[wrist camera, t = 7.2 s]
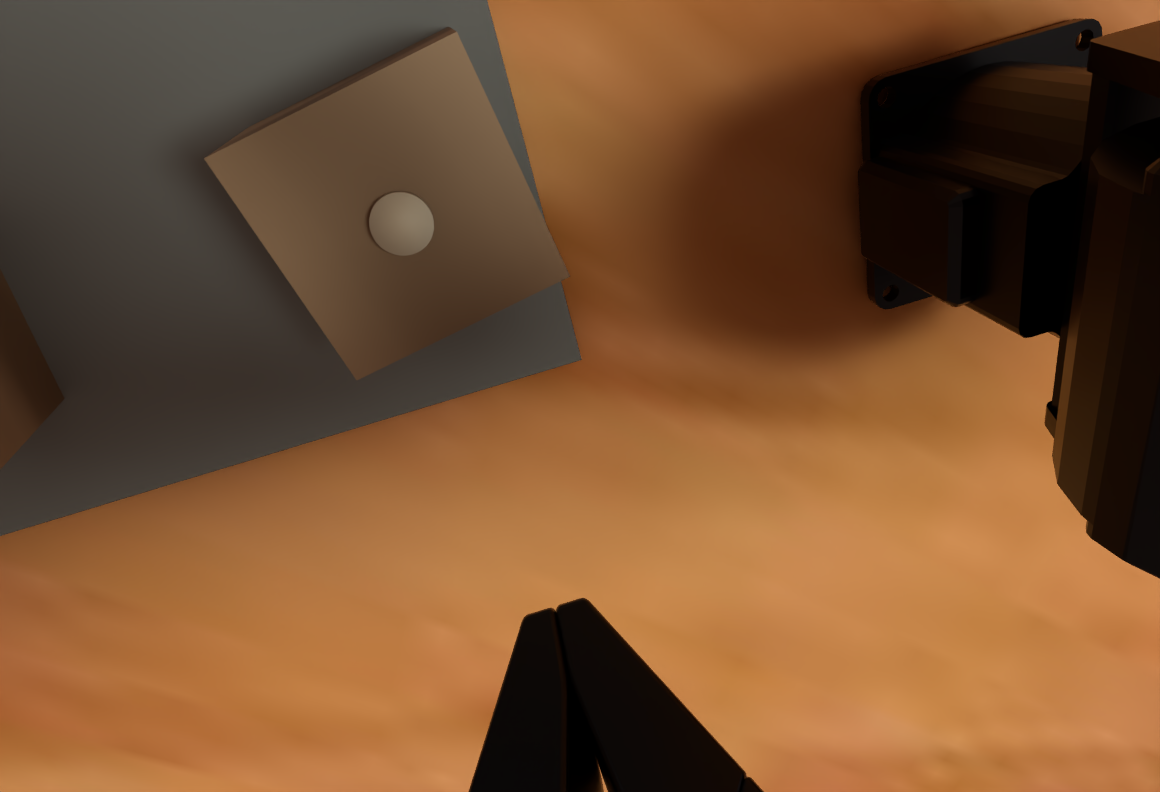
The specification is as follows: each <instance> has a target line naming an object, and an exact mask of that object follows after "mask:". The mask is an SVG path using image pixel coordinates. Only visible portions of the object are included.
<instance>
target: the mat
mask: <svg viewBox="0 0 1160 792" xmlns="http://www.w3.org/2000/svg"><path fill="white" fill-rule="evenodd" d="M447 27H450V28H452V29H453V30H455V31H457V33H458V35H459V37H460V40H461V42H462V44H463V46H464V48H465V50H466V53H467V55H468V57H469V59H470V61H471V63H472V66H473V68H474V70H475V72H476V74H477V76H478V78H479V81H480V83H481V85H482V87H483V89H484V91H485V94H486V96H487V98H488V100H489V102H490V104H491V106H492V109H493V111H494V113H495V115H496V117H497V119H498V122H499V124H500V126H501V128H502V130H503V132H504V135H505V137H506V139H507V141H508V143H509V145H510V147H511V150H512V152H513V154H514V156H515V158H516V160H517V163H518V165H519V167H520V169H521V171H522V173H523V175H524V178H525V180H526V182H527V184H528V186H529V188H530V191H531V193H532V195H533V197H534V199H535V201H536V204H537V206H538V208H539V210H540V212H541V214H542V216H543V219H544V215H543V211H542V207H541V204H540V200H539V196H538V192H537V188H536V185H535V181H534V177H533V173H532V169H531V166H530V162H529V158H528V154H527V150H526V147H525V143H524V139H523V135H522V131H521V128H520V124H519V120H518V116H517V112H516V109H515V105H514V101H513V97H512V93H511V90H510V86H509V82H508V78H507V74H506V71H505V67H504V63H503V59H502V55H501V52H500V48H499V44H498V40H497V36H496V33H495V29H494V25H493V21H492V17H491V14H490V10H489V6H488V2H487V0H0V269H1V271H2V273H3V275H4V277H5V279H6V281H7V283H8V285H9V287H10V289H11V291H12V293H13V295H14V297H15V299H16V301H17V303H18V305H19V308H20V310H21V312H22V314H23V316H24V318H25V320H26V322H27V324H28V326H29V328H30V330H31V332H32V334H33V336H34V338H35V340H36V342H37V344H38V346H39V348H40V350H41V352H42V354H43V356H44V358H45V360H46V362H47V364H48V366H49V368H50V370H51V372H52V374H53V376H54V378H55V380H56V382H57V384H58V386H59V388H60V390H61V392H62V394H63V396H64V398H65V399H64V400H63V401H62V402H61V403H60V404H59V405H58V407H57V408H56V409H55V410H54V411H53V412H52V413H51V414H50V415H49V417H48V418H47V419H46V420H45V421H44V422H43V423H42V424H41V425H40V426H39V428H38V429H37V430H36V431H35V432H34V433H33V434H32V435H31V436H30V437H29V439H28V440H27V441H26V442H25V443H24V444H23V445H22V446H21V447H20V448H19V450H18V451H17V452H16V453H15V454H14V455H13V456H12V457H11V458H10V459H9V461H8V462H7V463H6V464H5V465H4V466H3V467H2V468H1V469H0V536H1V535H5V534H8V533H11V532H15V531H18V530H21V529H25V528H28V527H31V526H34V525H38V524H41V523H44V522H48V521H51V520H54V519H58V518H61V517H64V516H67V515H71V514H74V513H77V512H81V511H84V510H87V509H91V508H94V507H97V506H101V505H104V504H107V503H110V502H114V501H117V500H120V499H124V498H127V497H130V496H134V495H137V494H140V493H143V492H147V491H150V490H153V489H157V488H160V487H163V486H167V485H170V484H173V483H176V482H180V481H183V480H186V479H190V478H193V477H196V476H200V475H203V474H206V473H209V472H213V471H216V470H219V469H223V468H226V467H229V466H233V465H236V464H239V463H242V462H246V461H249V460H252V459H256V458H259V457H262V456H266V455H269V454H272V453H275V452H279V451H282V450H285V449H289V448H292V447H295V446H299V445H302V444H305V443H308V442H312V441H315V440H318V439H322V438H325V437H328V436H332V435H335V434H338V433H341V432H345V431H348V430H351V429H355V428H358V427H361V426H365V425H368V424H371V423H374V422H378V421H381V420H384V419H388V418H391V417H394V416H398V415H401V414H404V413H408V412H411V411H414V410H417V409H421V408H424V407H427V406H431V405H434V404H437V403H441V402H444V401H447V400H450V399H454V398H457V397H460V396H464V395H467V394H470V393H474V392H477V391H480V390H483V389H487V388H490V387H493V386H497V385H500V384H503V383H507V382H510V381H513V380H516V379H520V378H523V377H526V376H530V375H533V374H536V373H540V372H543V371H546V370H549V369H553V368H556V367H559V366H563V365H566V364H569V363H573V362H576V361H579V360H582V359H581V356H580V352H579V348H578V344H577V340H576V337H575V333H574V329H573V325H572V321H571V318H570V314H569V310H568V306H567V302H566V299H565V295H564V291H563V287H562V283H561V281H560V282H558V283H556V284H554V285H552V286H550V287H548V288H546V289H544V290H542V291H540V292H538V293H535V294H533V295H531V296H529V297H527V298H525V299H523V300H521V301H519V302H517V303H515V304H513V305H511V306H509V307H507V308H505V309H503V310H501V311H499V312H496V313H494V314H492V315H490V316H488V317H486V318H484V319H482V320H480V321H478V322H476V323H474V324H472V325H470V326H468V327H466V328H464V329H462V330H460V331H457V332H455V333H453V334H451V335H449V336H447V337H445V338H443V339H441V340H439V341H437V342H435V343H433V344H431V345H429V346H427V347H425V348H423V349H420V350H418V351H416V352H414V353H412V354H410V355H408V356H406V357H404V358H402V359H400V360H398V361H396V362H394V363H392V364H390V365H388V366H386V367H384V368H381V369H379V370H377V371H375V372H373V373H371V374H369V375H367V376H365V377H363V378H361V379H359V380H356V379H355V377H354V376H353V374H352V373H351V371H350V370H349V369H348V367H347V366H346V364H345V363H344V361H343V360H342V358H341V357H340V355H339V354H338V353H337V351H336V350H335V348H334V347H333V345H332V344H331V342H330V341H329V339H328V338H327V337H326V335H325V334H324V332H323V331H322V329H321V328H320V326H319V325H318V324H317V322H316V321H315V319H314V318H313V316H312V315H311V313H310V312H309V310H308V309H307V308H306V306H305V305H304V303H303V302H302V300H301V299H300V297H299V296H298V294H297V293H296V292H295V290H294V289H293V287H292V286H291V284H290V283H289V281H288V280H287V279H286V277H285V276H284V274H283V273H282V271H281V270H280V268H279V267H278V265H277V264H276V263H275V261H274V260H273V258H272V257H271V255H270V254H269V252H268V251H267V249H266V248H265V247H264V245H263V244H262V242H261V241H260V239H259V238H258V236H257V235H256V233H255V232H254V231H253V229H252V228H251V226H250V225H249V223H248V222H247V220H246V219H245V218H244V216H243V215H242V213H241V212H240V210H239V209H238V207H237V206H236V204H235V203H234V202H233V200H232V199H231V197H230V196H229V194H228V193H227V191H226V190H225V188H224V187H223V186H222V184H221V183H220V181H219V180H218V178H217V177H216V175H215V174H214V172H213V171H212V170H211V168H210V167H209V165H208V164H207V162H206V161H205V159H204V158H205V157H207V156H208V155H209V154H211V153H212V152H214V151H215V150H217V149H218V148H219V147H221V146H222V145H224V144H225V143H227V142H228V141H230V140H231V139H232V138H234V137H235V136H237V135H238V134H240V133H241V132H242V131H244V130H245V129H247V128H248V127H250V126H252V125H254V124H256V123H258V122H260V121H262V120H264V119H266V118H268V117H270V116H272V115H274V114H276V113H278V112H280V111H282V110H284V109H286V108H288V107H290V106H292V105H293V104H295V103H297V102H299V101H301V100H303V99H305V98H307V97H309V96H311V95H313V94H315V93H317V92H319V91H321V90H323V89H325V88H327V87H329V86H331V85H333V84H335V83H337V82H339V81H341V80H343V79H345V78H347V77H349V76H351V75H353V74H355V73H357V72H359V71H361V70H363V69H365V68H367V67H369V66H371V65H373V64H375V63H377V62H379V61H381V60H383V59H385V58H387V57H389V56H391V55H393V54H395V53H397V52H399V51H401V50H403V49H405V48H407V47H409V46H411V45H413V44H415V43H417V42H419V41H421V40H423V39H425V38H427V37H429V36H431V35H433V34H435V33H437V32H439V31H441V30H443V29H445V28H447ZM544 221H545V219H544Z"/></svg>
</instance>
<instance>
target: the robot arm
mask: <svg viewBox="0 0 1160 792" xmlns="http://www.w3.org/2000/svg"><path fill="white" fill-rule="evenodd" d="M1080 33H1081V36H1082V38H1081V41H1080V43H1079V45H1078V46H1077V47H1076V44H1075V42H1076V39H1077V37H1078V35H1079V34H1080ZM884 88H886V89H887V93H888V94H887V99H886V100H885V102H884V103H883V104H881V105H880V106H879V104H878V101H877V99H878V95H879V93H880V92H881V90H882V89H884ZM860 104H861V130H862V156H863V163H862V165H861V167H860V169H859V171H858V185H859V209H860V233H861V253H862V255H863V256H864V257H865V258H866V261H867V287H868V296H869V299H870V300H871V301H872V303H874V304H875V305H877V306H878V307H880V308H883V309H892V308H895V307H898V306H901V305H905V304H908V303H911V302H914V301H918V300H921V299H924V298H928V297H931V296H934V297H936V298H938V299H939V300H941V301H943V302H945V303H946V304H948V305H950V306H952V307H958V306H961V305H965V306H967V307H969V308H971V309H973V310H974V311H976V312H978V313H980V314H982V315H984V316H985V317H987V318H989V319H991V320H993V321H995V322H996V323H998V324H1000V325H1002V326H1004V327H1006V328H1007V329H1009V330H1011V331H1013V332H1015V333H1017V334H1018V335H1020V336H1022V337H1024V338H1027V337H1033V336H1036V335H1040V334H1043V333H1046V332H1048V333H1050V334H1052V335H1054V336H1056V337H1058V338H1060V341H1059V349H1058V357H1057V365H1056V373H1055V381H1054V389H1053V397H1052V401H1050V402H1048V404H1047V406H1046V415H1045V426H1046V427H1047V429H1048V430H1049V432H1050V433H1051V435H1052V436H1053V438H1054V445H1053V453H1052V457H1053V463H1054V468H1055V474H1056V479H1057V484H1058V485H1059V487H1060V488H1061V489H1062V491H1063V492H1064V493H1065V495H1066V496H1067V497H1068V498H1069V500H1070V501H1071V502H1072V504H1073V505H1074V506H1075V508H1076V509H1077V510H1078V512H1079V513H1080V514H1081V515H1082V516H1083V517H1084V518H1085V519H1086V520H1087V523H1086V533H1087V534H1088V535H1089V536H1090V538H1091V539H1093V540H1094V541H1096V542H1097V543H1099V544H1100V545H1101V546H1103V547H1104V548H1106V549H1107V550H1109V551H1110V552H1112V553H1113V554H1115V555H1116V556H1117V557H1119V558H1120V559H1122V560H1124V561H1125V562H1127V563H1129V564H1131V565H1133V566H1135V567H1137V568H1139V569H1141V570H1143V571H1145V572H1147V573H1149V574H1151V575H1153V576H1155V577H1158V578H1160V21H1156V22H1152V23H1149V24H1145V25H1141V26H1138V27H1134V28H1130V29H1127V30H1123V31H1119V32H1116V33H1112V34H1108V35H1105V36H1102V27H1101V25H1100V23H1099V22H1098V21H1096V20H1095V19H1073V20H1069V21H1066V22H1062V23H1059V24H1055V25H1052V26H1049V27H1045V28H1042V29H1038V30H1035V31H1031V32H1028V33H1024V34H1021V35H1017V36H1014V37H1010V38H1007V39H1003V40H1000V41H996V42H993V43H989V44H986V45H982V46H979V47H975V48H972V49H969V50H965V51H962V52H958V53H955V54H951V55H948V56H944V57H941V58H937V59H934V60H930V61H927V62H923V63H920V64H916V65H913V66H909V67H906V68H902V69H899V70H895V71H892V72H888V73H885V74H882V75H878V76H876V77H874V78H872V79H871V80H870V81H869V82H868V83H867V84H866V85H865V87H864V89H863V91H862V93H861V100H860ZM890 285H891V286H892V287H891V291H890V292H889V293H888V294H887V295H886V296H884V297H883V292H884V290H885V289H886V288H887V287H888V286H890ZM599 767H600V769H599ZM600 770H601V773H602V776H603V779H604V782H605V785H606V787H607V790H608V792H764V791H763V790H762V789H761V788H760V787H759V786H758V785H757V784H756V783H755V782H754V780H753V779H752V778H750V777H747V776H746V773H745V771H744V770H743V769H742V768H741V767H740V766H739V765H738V763H737V762H736V761H735V760H734V759H733V758H732V757H731V756H730V755H729V754H728V752H727V751H726V750H725V749H724V748H723V747H722V746H721V745H720V744H719V743H718V742H717V740H716V739H715V738H714V737H713V736H712V735H711V734H710V733H709V732H708V731H707V729H706V728H705V727H704V726H703V725H702V724H701V723H700V722H699V721H698V720H697V719H696V717H695V716H694V715H693V714H692V713H691V712H690V711H689V710H688V709H687V708H686V706H685V705H684V704H683V703H682V702H681V701H680V700H679V699H678V698H677V697H676V696H675V694H674V693H673V692H672V691H671V690H670V689H669V688H668V687H667V686H666V685H665V683H664V682H663V681H662V680H661V679H660V678H659V677H658V676H657V675H656V674H655V673H654V671H653V670H652V669H651V668H650V667H649V666H648V665H647V664H646V663H645V662H644V660H643V659H642V658H641V657H640V656H639V655H638V654H637V653H636V652H635V651H634V650H633V648H632V647H631V646H630V645H629V644H628V643H627V642H626V641H625V640H624V639H623V637H622V636H621V635H620V634H619V633H618V632H617V631H616V630H615V629H614V628H613V627H612V625H611V624H610V623H609V622H608V621H607V620H606V619H605V618H604V617H603V616H602V614H601V613H600V612H599V611H598V610H597V609H596V608H595V607H594V606H593V605H592V604H591V602H590V601H589V600H587V599H585V598H580V599H577V600H573V601H570V602H567V603H564V604H560V605H559V606H558V607H557V609H556V611H555V610H554V609H553V608H547V609H544V610H541V611H538V612H535V613H531V614H528V615H526V616H525V617H524V618H523V620H522V623H521V626H520V629H519V633H518V636H517V639H516V642H515V645H514V649H513V652H512V655H511V658H510V661H509V665H508V668H507V671H506V674H505V677H504V680H503V684H502V687H501V690H500V693H499V696H498V700H497V703H496V706H495V709H494V712H493V716H492V719H491V722H490V725H489V728H488V732H487V735H486V738H485V741H484V744H483V748H482V751H481V754H480V757H479V760H478V763H477V767H476V770H475V773H474V776H473V779H472V783H471V786H470V789H469V792H604V790H603V784H602V778H601V773H600Z"/></svg>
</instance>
